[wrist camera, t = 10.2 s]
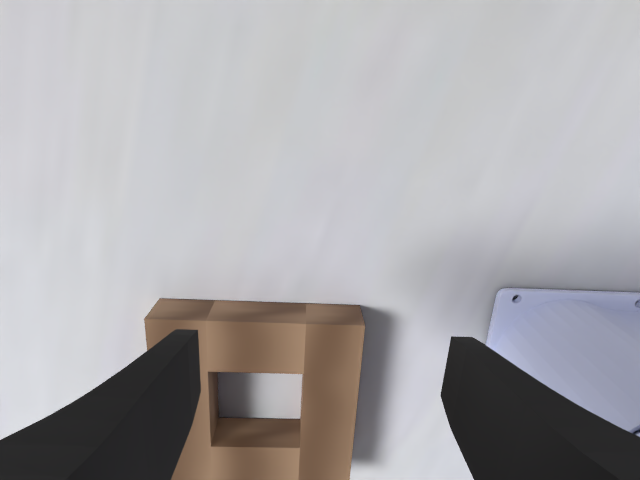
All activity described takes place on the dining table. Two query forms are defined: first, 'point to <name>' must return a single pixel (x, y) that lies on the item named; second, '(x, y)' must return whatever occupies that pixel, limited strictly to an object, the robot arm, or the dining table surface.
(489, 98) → the dining table surface
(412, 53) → the dining table surface
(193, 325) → the holder
